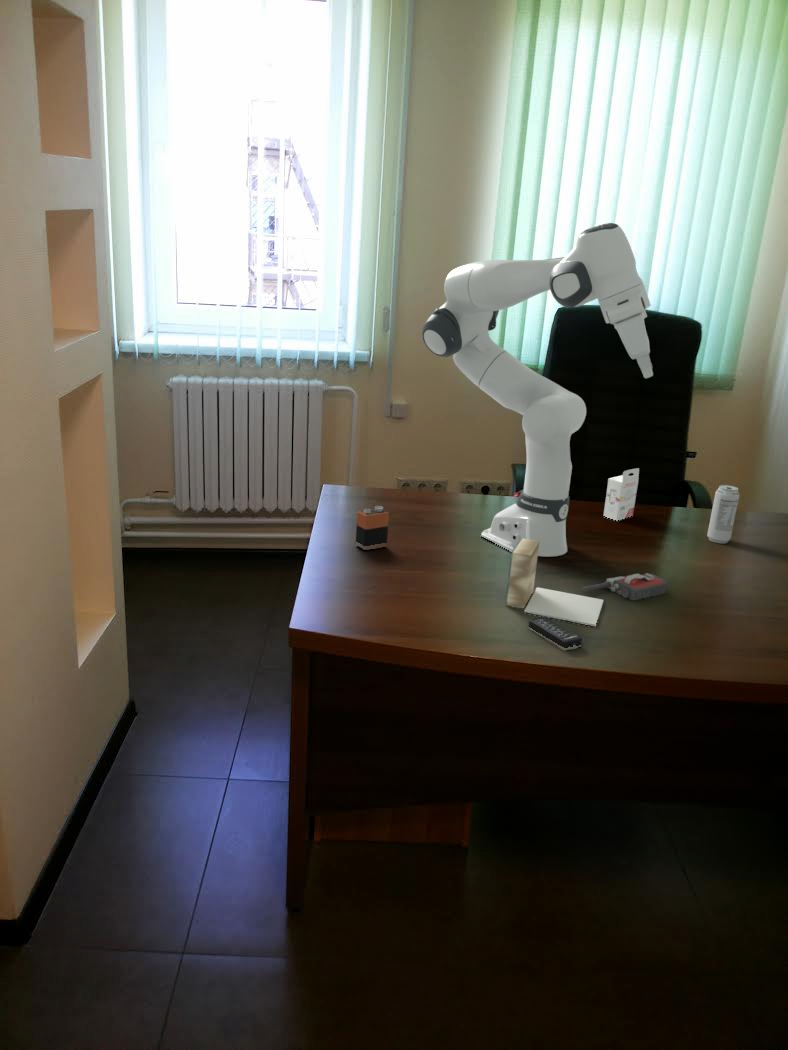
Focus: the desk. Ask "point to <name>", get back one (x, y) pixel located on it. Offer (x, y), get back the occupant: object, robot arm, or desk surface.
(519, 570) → the beige rectangular block
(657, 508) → the desk surface
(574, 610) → the mat
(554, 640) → the multiport hub
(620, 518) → the ink cartridge box
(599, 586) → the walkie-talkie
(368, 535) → the battery
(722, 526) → the energy drink can
